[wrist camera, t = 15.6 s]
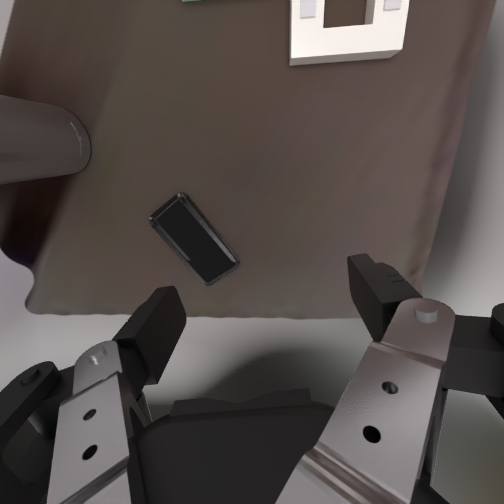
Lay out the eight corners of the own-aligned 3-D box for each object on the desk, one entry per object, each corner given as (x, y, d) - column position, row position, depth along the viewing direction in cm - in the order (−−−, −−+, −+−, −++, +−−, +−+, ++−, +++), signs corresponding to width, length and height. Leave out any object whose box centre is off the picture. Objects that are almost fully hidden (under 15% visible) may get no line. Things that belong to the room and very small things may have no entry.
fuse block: (289, 65, 31) (291, 56, 28) (290, -46, 27) (292, -70, 24) (390, 57, 30) (403, 47, 27) (405, -59, 26) (423, -86, 23)
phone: (181, 190, 38) (241, 265, 42) (183, 189, 39) (242, 262, 43) (145, 219, 40) (206, 288, 44) (148, 218, 41) (207, 285, 45)
